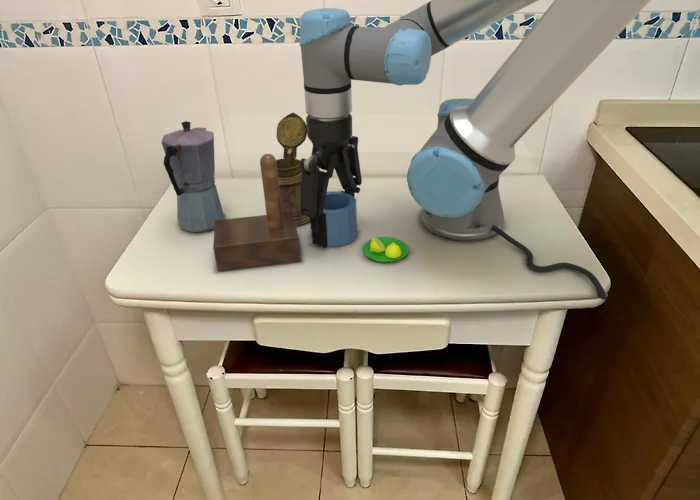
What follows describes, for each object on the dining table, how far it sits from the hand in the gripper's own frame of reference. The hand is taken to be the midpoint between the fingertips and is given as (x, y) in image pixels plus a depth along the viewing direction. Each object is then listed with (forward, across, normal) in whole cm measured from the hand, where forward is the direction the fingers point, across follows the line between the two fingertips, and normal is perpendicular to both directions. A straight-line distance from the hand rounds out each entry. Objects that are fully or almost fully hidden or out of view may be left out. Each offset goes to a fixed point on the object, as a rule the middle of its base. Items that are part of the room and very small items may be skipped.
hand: (334, 233), depth 96 cm
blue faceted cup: (0, 0, 0) cm, 0 cm away
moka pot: (0, +10, -25) cm, 27 cm away
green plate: (0, 0, +11) cm, 11 cm away
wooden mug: (0, -4, -12) cm, 13 cm away
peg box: (0, +12, -8) cm, 14 cm away
